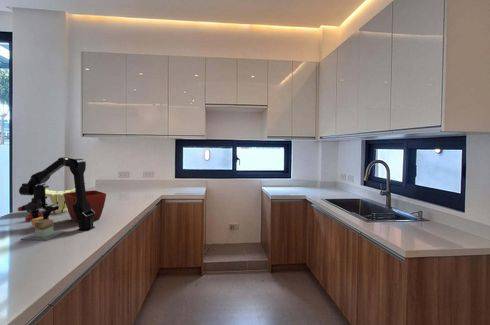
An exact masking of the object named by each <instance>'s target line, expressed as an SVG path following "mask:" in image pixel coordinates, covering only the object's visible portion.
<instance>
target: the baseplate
mask: <svg viewBox="0 0 490 325" xmlns="http://www.w3.org/2000/svg"><path fill="white" fill-rule="evenodd" d="M65 232H66V233H67V231H66V230H54V226H53V227H50V228H47V229H45V230H35V229H34V232H33V233H31V234H29V235H26V236H24V237H21V238H20V240H21V241H46V242H47V241H50V240H52V239H54V238H57V237H59V236H61V235H63V233H64V234H66V233H65Z"/></svg>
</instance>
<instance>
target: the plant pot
mask: <svg viewBox="0 0 490 325" xmlns="http://www.w3.org/2000/svg"><path fill="white" fill-rule="evenodd" d="M85 192H86V199H87V201H88V202H89V203H90V207H91V209H92V210H93V211H94V212H95V216H94V217H92V218H93V221H97V220H100V218H101V216H102V214H103V210H104V207H105V203H106V199H107V198H106V197H107V193H105V192H102V191H99V190H96V189H95V190H94V189H93V190H85ZM64 198H65V202H66V206H67V209H68V212H67V213H68V214H69V217H70V219H71V220H72V221H74V222H76V223H78V224H79V220H77V217H76V215H75V213H74V212H73V204H75V203H76V192H72V193H64Z"/></svg>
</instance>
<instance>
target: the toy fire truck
mask: <svg viewBox="0 0 490 325" xmlns="http://www.w3.org/2000/svg"><path fill="white" fill-rule="evenodd" d="M21 207H22V206H18V207H17V212H22V211H21ZM27 216H28V217H25V222H30V221H31V222H32V219H34V218H33V216H32V215H31V214H30V213H29V212H28V214H27ZM39 217H43V213H42V211H39V215H38V218H39Z"/></svg>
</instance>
